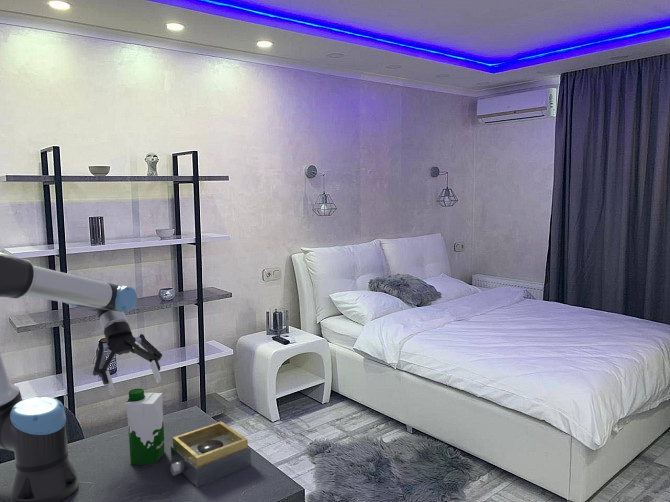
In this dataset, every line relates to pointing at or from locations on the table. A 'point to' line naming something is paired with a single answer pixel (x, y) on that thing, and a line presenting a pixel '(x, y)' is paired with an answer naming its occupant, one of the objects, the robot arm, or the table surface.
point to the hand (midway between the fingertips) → (136, 387)
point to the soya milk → (145, 426)
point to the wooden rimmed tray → (209, 453)
